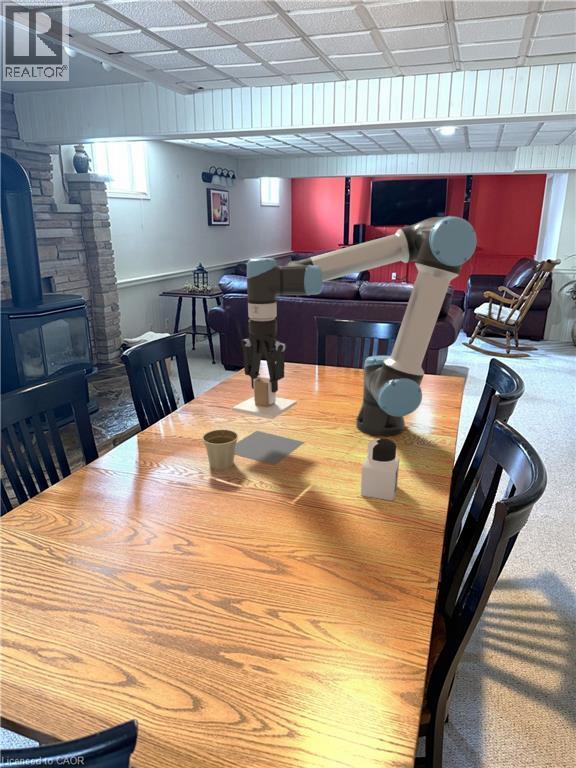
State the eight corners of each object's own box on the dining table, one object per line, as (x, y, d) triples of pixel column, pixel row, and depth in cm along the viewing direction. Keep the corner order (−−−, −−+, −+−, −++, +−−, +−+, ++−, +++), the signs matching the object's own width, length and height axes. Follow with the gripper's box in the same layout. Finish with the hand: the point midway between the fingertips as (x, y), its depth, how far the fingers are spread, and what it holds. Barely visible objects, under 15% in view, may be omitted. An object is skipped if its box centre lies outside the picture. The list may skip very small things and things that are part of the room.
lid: (296, 404, 142) (296, 377, 139) (272, 419, 131) (271, 390, 129) (258, 397, 148) (257, 371, 146) (232, 410, 138) (231, 383, 135)
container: (397, 486, 123) (401, 437, 119) (393, 501, 116) (397, 450, 112) (366, 480, 125) (369, 433, 121) (360, 496, 118) (362, 446, 115)
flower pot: (233, 476, 128) (232, 445, 125) (198, 472, 130) (196, 442, 127) (243, 459, 137) (242, 430, 134) (210, 456, 138) (209, 428, 136)
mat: (304, 444, 146) (304, 442, 146) (274, 467, 132) (274, 465, 132) (256, 432, 155) (256, 430, 154) (223, 453, 141) (223, 451, 140)
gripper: (228, 318, 133) (232, 400, 140) (282, 323, 125) (284, 410, 132) (244, 313, 139) (247, 392, 146) (297, 318, 131) (298, 402, 138)
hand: (264, 401), depth 139 cm, fingers closed on lid, 4 cm apart
